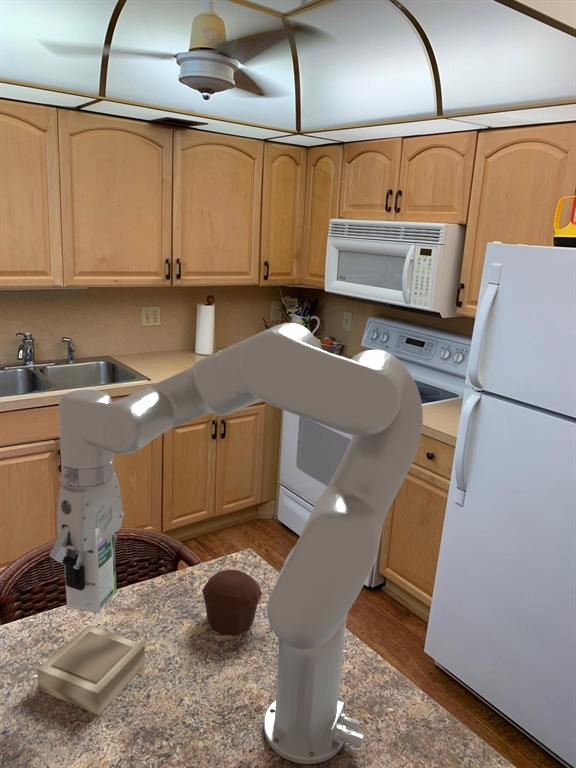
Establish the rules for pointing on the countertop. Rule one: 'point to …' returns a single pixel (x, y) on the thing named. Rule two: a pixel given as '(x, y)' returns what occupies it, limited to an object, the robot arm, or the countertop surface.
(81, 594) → the syrup box
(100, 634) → the base block
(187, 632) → the countertop surface
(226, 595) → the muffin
